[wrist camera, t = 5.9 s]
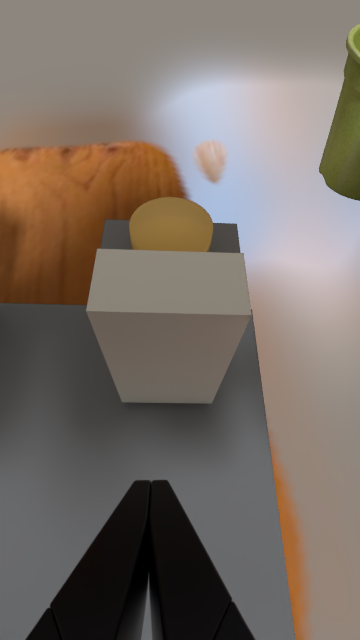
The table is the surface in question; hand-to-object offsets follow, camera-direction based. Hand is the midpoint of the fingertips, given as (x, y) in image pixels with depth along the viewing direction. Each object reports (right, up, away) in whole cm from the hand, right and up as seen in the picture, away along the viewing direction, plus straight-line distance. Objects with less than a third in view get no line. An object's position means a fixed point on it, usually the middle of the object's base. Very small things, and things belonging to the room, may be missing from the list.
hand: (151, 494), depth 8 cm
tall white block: (0, +2, +7) cm, 7 cm away
